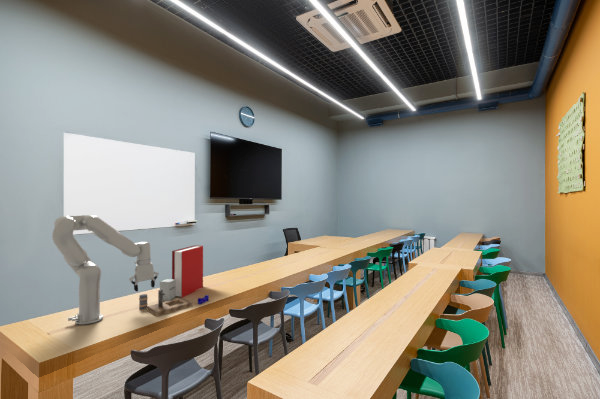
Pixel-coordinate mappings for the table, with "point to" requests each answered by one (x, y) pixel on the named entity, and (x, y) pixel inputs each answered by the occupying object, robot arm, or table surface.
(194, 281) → the book
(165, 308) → the brown base with post
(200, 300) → the cable holder
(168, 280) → the supplement box
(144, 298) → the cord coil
